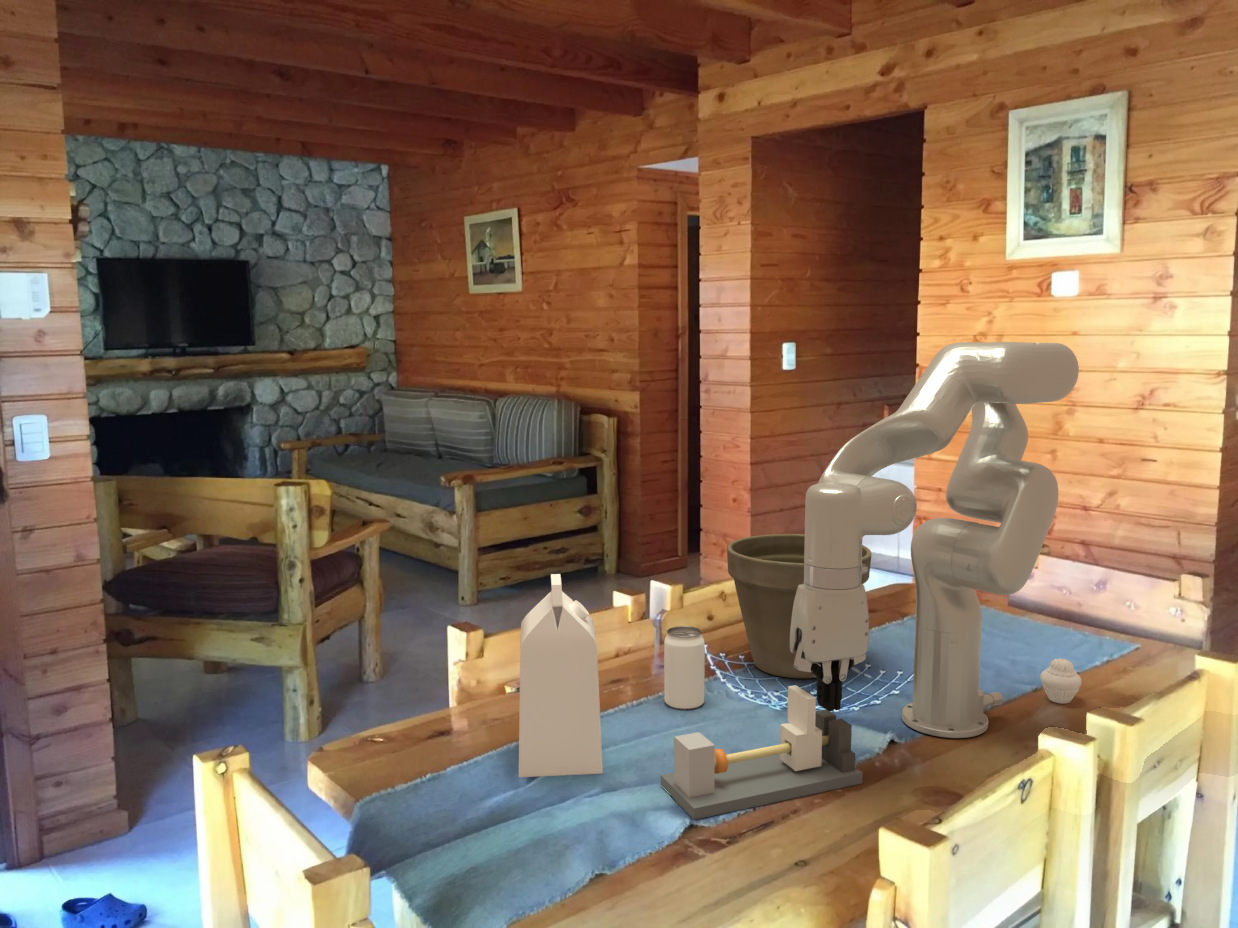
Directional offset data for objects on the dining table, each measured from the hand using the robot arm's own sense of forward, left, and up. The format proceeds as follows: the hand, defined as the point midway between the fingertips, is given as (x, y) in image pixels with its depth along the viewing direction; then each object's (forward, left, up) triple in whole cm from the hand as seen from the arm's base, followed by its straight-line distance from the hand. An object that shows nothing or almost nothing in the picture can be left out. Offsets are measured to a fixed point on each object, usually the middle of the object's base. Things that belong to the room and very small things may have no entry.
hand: (829, 706), depth 137 cm
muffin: (-49, -7, -9) cm, 50 cm away
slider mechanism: (+10, 0, -9) cm, 14 cm away
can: (+7, -30, -9) cm, 32 cm away
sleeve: (+4, 0, -7) cm, 8 cm away
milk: (+32, -19, -10) cm, 39 cm away
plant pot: (-19, -38, -9) cm, 43 cm away
